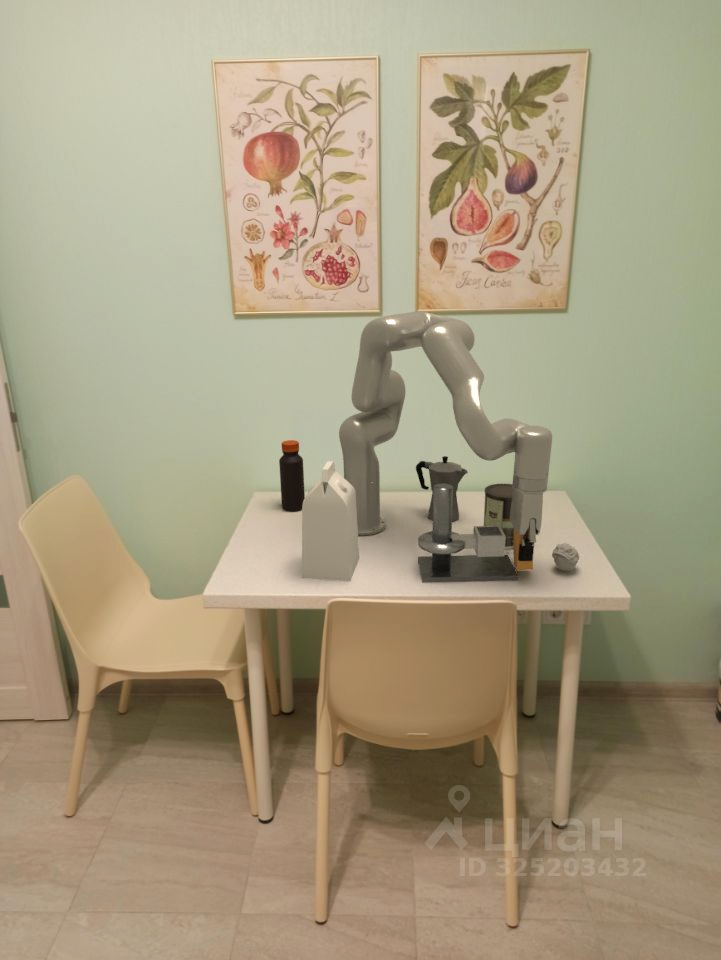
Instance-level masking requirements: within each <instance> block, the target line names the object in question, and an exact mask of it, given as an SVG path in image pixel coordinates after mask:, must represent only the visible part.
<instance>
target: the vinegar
mask: <svg viewBox="0 0 721 960" xmlns="http://www.w3.org/2000/svg"><path fill="white" fill-rule="evenodd" d="M299 452H300V442H299V441H298V440H293V439H292V440H291V439H290V440H284V441H281V453H282V455H281V457H280V458H279V460H278V461H279V462H278V463H279V464H278V465H279V477H280V494H281V495H280V496H281V497H280V498H281V499H280V500H281V508H282V510H284V511H286V512H300V511H302V505H303V501H304V499H305V497H306V495H305V475H304V473H305V472H304V459H303V457H302V456H301V455H300V454H299Z"/></svg>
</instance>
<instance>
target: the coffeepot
mask: <svg viewBox="0 0 721 960" xmlns="http://www.w3.org/2000/svg"><path fill="white" fill-rule="evenodd" d="M441 458H442V461H437V462H432V461H424V460H420V461H419V462H418V463H417V464H416V465H415V471H416V474H417V477H418V479H419V484H420V488H421V489H423V490H429V489H430V488H431V492H432V493H431V498H430V505H429V509H428V516H427V519H428V520H430V521H431V522H433V487H434V485H436V484H449V485H452V486H453V505H452V524H453V523H456V522H457V521H459V520H460V512H459V503H458V496H457V492H458V489H459V488H458V487H459V483H460V482H461V481H462V479H463V477H464V476H465V475H466V474H468V470H467V469H465V468H463V467H462V464H458V463H456V462H452V461H448V458H449V456H445V455H444V456H442V457H441ZM422 468H424V469H426V470H428V474H429V481H430V487H429V486H427V485H426V484H425V483H426V482H425V478H424V473H423V469H422Z"/></svg>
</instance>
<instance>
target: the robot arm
mask: <svg viewBox="0 0 721 960" xmlns="http://www.w3.org/2000/svg"><path fill="white" fill-rule="evenodd" d="M359 342H360V343H359V351H358V358H357V363H356V368H355V373H354V379H353V383H352V387H351V388H352V389H351V402H352V405H353V407H354V408H355V409H356V410H357V411H359V412H358V413H355V414H352V415H351V416H349V417H347V418H346V419H344V420H343V421H342V423H341V425H340V427H339V428H338V429H339V430H338V438H339V442H340V448H341V452H342V460H343V478H344V479H345V480H347V481H348V482H349V483H350V484H351V485H352V486H353V487H354V489H355V493H356V509H357V526H358V536H371V535H375V534H379V533H381V532H382V531H384V530H385V529H386V527H387V523H386V520H385V519H383V517H381V516H380V515H381V495H380V494H381V491H380V489H381V485H380V483H381V480H380V478H381V475H380V474H381V472H380V461H379V458H378V456H377V454H376V451H375V447H377V446H378V445H381V444H384V443H386V442H389V441H390V440H391V439H393V438H394V436H395V435H396V434H397V431H398V428H399V424H400V421H401V416H402V411H403V408H404V404H405V398H406V384H405V381H404V379H403V377H402V376H401V374H400V373H399V372H397V371H396V370H393V369H392V367H393V356H392V352H400V351H405V350H409V349H414V348H419V347H421V349H422V350H423V352H424V354H425V355H426V357H427V359H428V360H429V362H430V364H431V365H432V366H433V368H434V370H435V372H436V373H437V374H438V376H439V377H440V379H441V380H442V382H443V384H444V385H445V387H446V388H447V390H448V391H449V393H450V394H451V399H452V409H453V414H454V419H455V423H456V426H457V428H458V430H459V432H460V434H461V436H462V437H463V439H464V441H465V442H466V444H467V445H468V446H469V448H470V449H471V451H472V452H473V453H474V454H475V455H476V456H477V457H479V458H480V459H481V460H484V461H495V460H498V459H500V458H502V457H504V456H505V455H507V454H511V453H514V463H513V464H514V465H513V475H512V483H511V484H512V488H513V489H514V490H513V496H512V503H511V510H510V521H511V523H512V525H513V527H514V529H515V530H516V532H517V533H518V534H519V535H521V544H519V555H518V560H519V561H532V560H533V561H534V552H535V550H534V549H535V543H536V541H537V536H538V535H539V534H540V533H541V527H542V521H543V502H544V493H546V492H547V490H548V485H549V484H548V483H549V473H550V472H549V471H550V464H551V456H552V455H551V454H552V453H551V452H552V445H553V433H552V431H551V430H550V429H549V428H547V427H544V426H539V425H529V424H527V423H524V422H522V421H518V420H516V419H513V418H502V419H500V420H497V421H495V422H493V423H492V422H491V421H490V419H488V417H487V415H486V414H485V412H484V410H483V407H482V404H481V401H480V400H481V399H480V394H481V393H480V392H481V389H482V386H483V383H484V380H485V374H484V372H483V370H482V369H481V368H480V366H479V364H478V362H477V361H476V360H475V359H474V357H473V355H472V354H471V352H470V351H472V349H473V347H474V345H475V334H474V331H473V329H472V328H471V326H470V325H469V324H467V323H466V322H464V321H463V320H460V319H457V318H453V317H448V316H444V315H439V314H435V313H430V312H427V311H418V310H417V311H410V312H406V313H405V312H404V313H398V314H390V315H385V316H380V317H377V318H374V319H372V320H370V321H369V322H368V323H367V324H366V325H365V326H364V328H363V330H362V332H361V335H360V340H359ZM527 530H529V532H526V531H527ZM525 536H529V537H528V538H526V539H525Z"/></svg>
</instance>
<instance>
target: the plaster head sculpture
mask: <svg viewBox="0 0 721 960" xmlns="http://www.w3.org/2000/svg"><path fill="white" fill-rule="evenodd" d="M579 554H580V553H579V551H578V549H576V548H575V546H574V547H573V546H572V545H570V544H569V543H565V542H563V543H561V544H560V543H557V544H556V546H555V547H554V549H553V550H552V554H551V556H552V557H551V558H553V562H554V564H555V566H556V567H557V568H558V569H559V570H560V571H564V572H569V571H571V570H573V569H575V567H576V566H577V564H578V562H579V560H580V555H579Z"/></svg>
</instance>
